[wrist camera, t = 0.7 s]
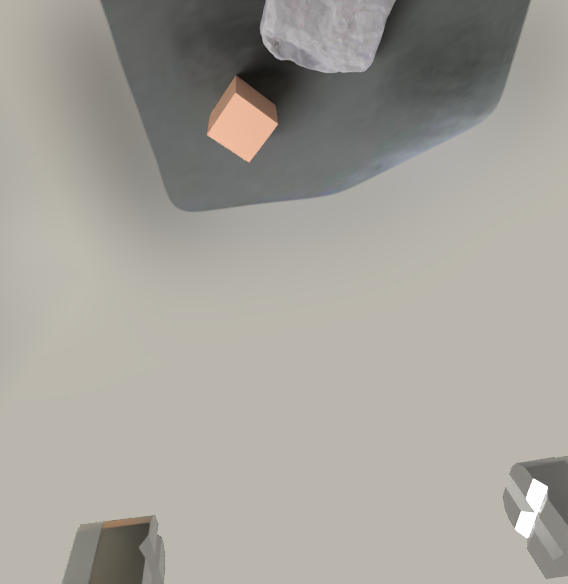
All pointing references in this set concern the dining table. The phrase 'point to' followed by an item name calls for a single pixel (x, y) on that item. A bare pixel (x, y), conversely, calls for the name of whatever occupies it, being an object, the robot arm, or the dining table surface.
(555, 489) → the robot arm
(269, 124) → the terracotta cube
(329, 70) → the stone block
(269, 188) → the dining table surface
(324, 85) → the dining table surface
